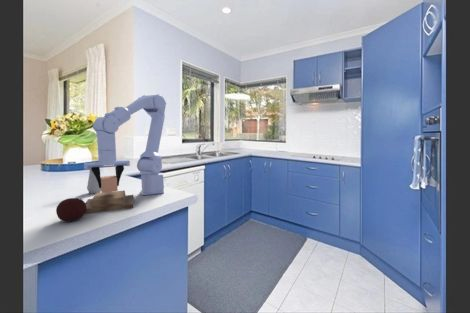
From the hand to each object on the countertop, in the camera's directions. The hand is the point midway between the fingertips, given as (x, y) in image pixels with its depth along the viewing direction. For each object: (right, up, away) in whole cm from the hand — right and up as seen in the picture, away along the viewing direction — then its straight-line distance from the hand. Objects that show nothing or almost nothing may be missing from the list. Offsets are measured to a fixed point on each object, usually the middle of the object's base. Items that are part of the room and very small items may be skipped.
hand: (109, 186), depth 83 cm
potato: (-4, -9, -13) cm, 17 cm away
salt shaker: (-16, -5, +18) cm, 25 cm away
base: (0, -7, +1) cm, 7 cm away
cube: (0, -2, 0) cm, 2 cm away
